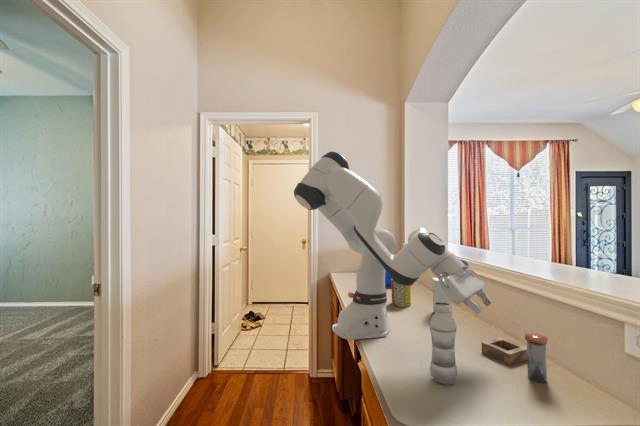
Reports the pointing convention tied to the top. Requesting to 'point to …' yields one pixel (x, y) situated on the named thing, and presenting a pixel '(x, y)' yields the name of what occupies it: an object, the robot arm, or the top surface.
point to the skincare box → (439, 294)
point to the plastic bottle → (443, 345)
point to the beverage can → (400, 295)
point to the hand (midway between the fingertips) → (485, 308)
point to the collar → (505, 350)
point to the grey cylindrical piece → (536, 357)
